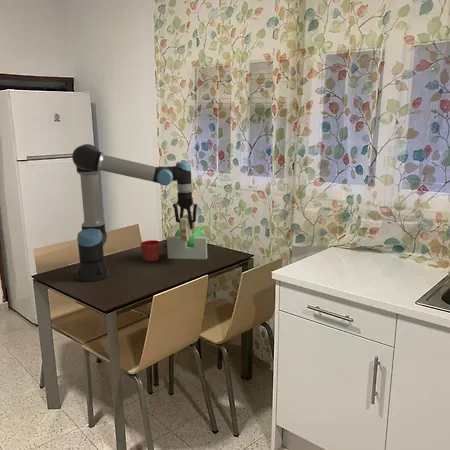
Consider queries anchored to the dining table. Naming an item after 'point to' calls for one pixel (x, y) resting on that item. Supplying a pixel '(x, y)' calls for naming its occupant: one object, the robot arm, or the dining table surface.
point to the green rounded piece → (197, 234)
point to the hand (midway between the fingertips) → (186, 234)
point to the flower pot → (150, 250)
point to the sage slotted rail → (186, 248)
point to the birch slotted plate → (186, 227)
